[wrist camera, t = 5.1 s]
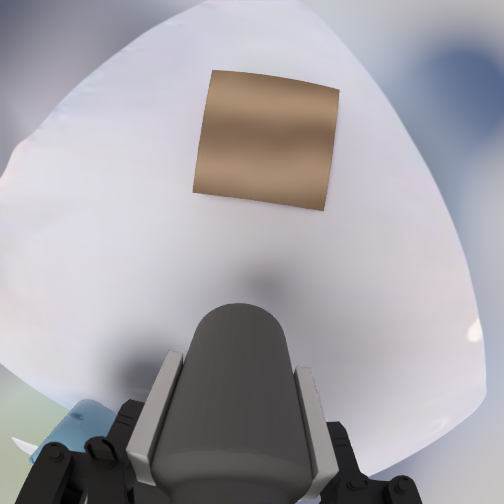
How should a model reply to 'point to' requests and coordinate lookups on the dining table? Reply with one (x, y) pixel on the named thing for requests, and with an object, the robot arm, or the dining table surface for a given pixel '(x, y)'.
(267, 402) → the bottle
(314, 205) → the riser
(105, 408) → the robot arm
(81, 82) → the dining table surface
